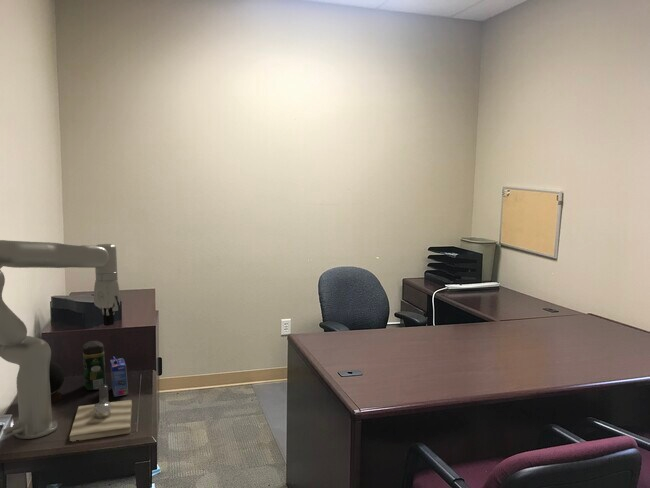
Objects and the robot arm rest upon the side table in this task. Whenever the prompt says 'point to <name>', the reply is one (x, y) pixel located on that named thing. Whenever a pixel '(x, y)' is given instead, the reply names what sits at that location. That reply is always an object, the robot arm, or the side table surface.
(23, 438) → the robot arm
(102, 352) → the coffee jar
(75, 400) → the side table surface
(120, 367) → the ink cartridge box
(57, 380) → the black half-round shape
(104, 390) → the crank dial
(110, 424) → the birch stand
